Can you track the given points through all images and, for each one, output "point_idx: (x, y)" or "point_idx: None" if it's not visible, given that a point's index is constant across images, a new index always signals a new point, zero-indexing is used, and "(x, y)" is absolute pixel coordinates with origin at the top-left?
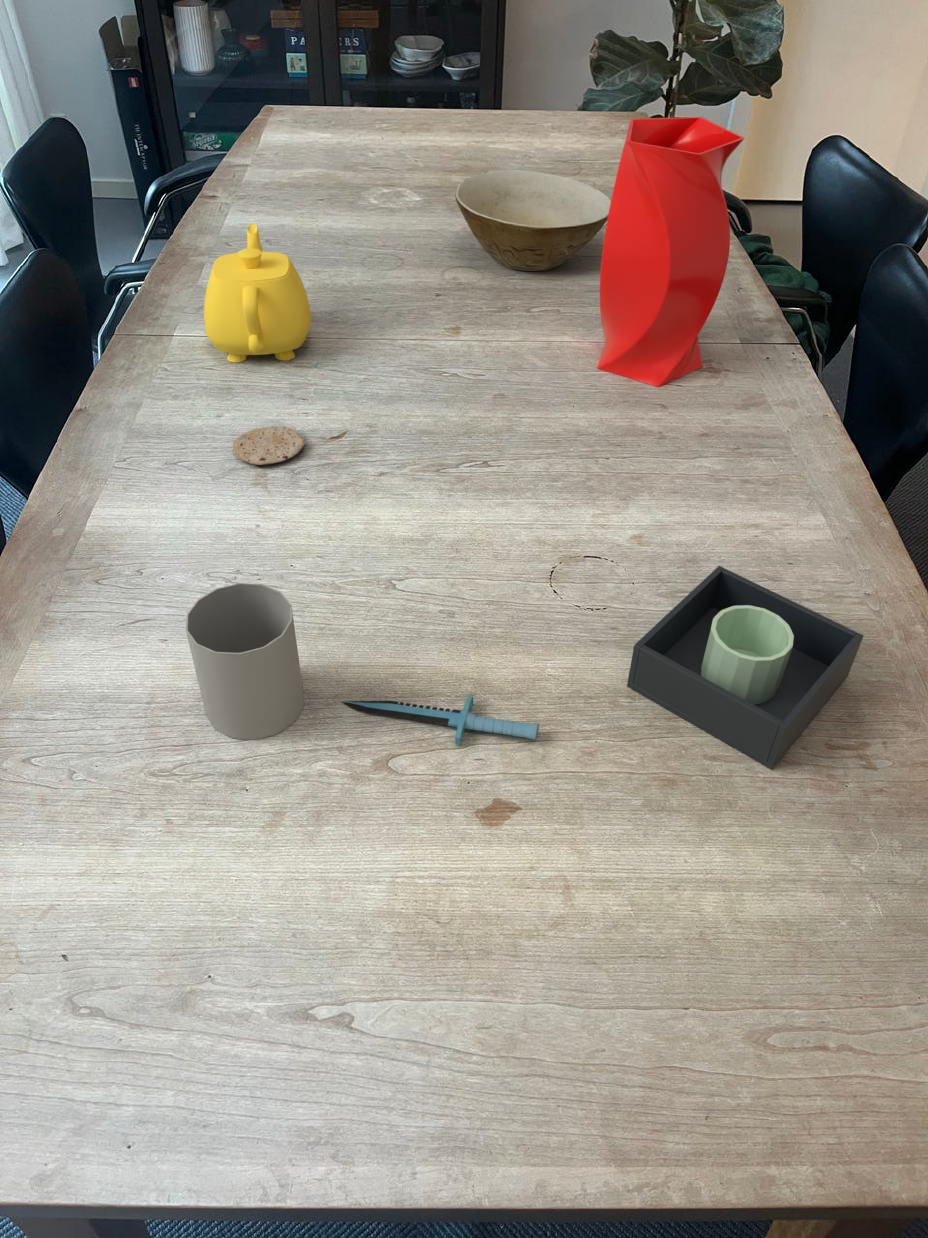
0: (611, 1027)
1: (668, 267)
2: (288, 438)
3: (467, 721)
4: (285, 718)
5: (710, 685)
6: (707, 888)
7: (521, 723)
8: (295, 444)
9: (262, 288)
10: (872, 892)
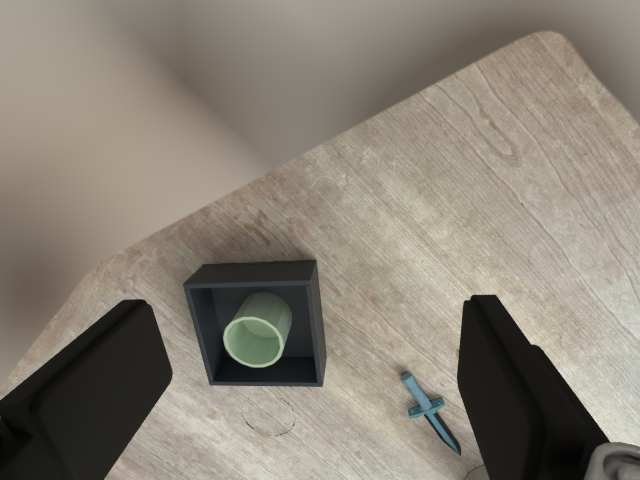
0: (563, 229)
1: None
2: None
3: (429, 407)
4: None
5: (315, 335)
6: (431, 240)
7: (408, 386)
8: None
9: None
10: (357, 161)
